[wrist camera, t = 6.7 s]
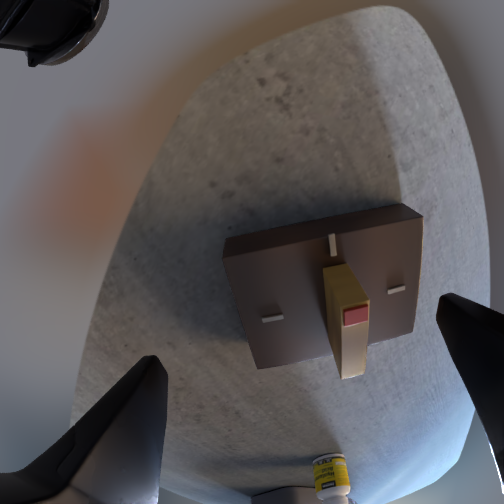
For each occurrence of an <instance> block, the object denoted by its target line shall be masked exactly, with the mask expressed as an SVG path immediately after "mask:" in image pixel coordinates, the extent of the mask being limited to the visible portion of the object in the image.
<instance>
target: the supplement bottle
mask: <svg viewBox="0 0 504 504" xmlns="http://www.w3.org/2000/svg"><path fill="white" fill-rule="evenodd" d="M313 472H314V480H315V488H316V495H317V497H318V498H319V499H321V500H323V502H322V504H348V498H347V497H346V494H348V493H349V492H350V483H349V478H348V473H347V468H346V463H345V458H344V455H342V454H337V453H334V454H327V455H324V456H321V457H319V458H317V459H315V460H314V461H313Z"/></svg>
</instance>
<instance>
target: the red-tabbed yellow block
mask: <svg viewBox="0 0 504 504" xmlns="http://www.w3.org/2000/svg"><path fill="white" fill-rule="evenodd" d="M323 277H324V288H325V299H326V312H327V326H328V339H329V343H330V346H331V349H332V352H333V355H334V358H335V362H336V365H337V368H338V371H339V375H340V378H341V379H346V378H350V377H353V376H357V375H361V374H364V373H365V365H366V354H367V341H368V326H369V302H370V300H369V298H368V296H367V295H366V293H365V291H364V290H363V288H362V286H361V285H360V283H359V281H358V280H357V278H356V277H355V275H354V273H353V272H352V270H351V269H350V267H349V265H348V264H347V263H346V264H341V265H336V266H331V267H327V268H323Z"/></svg>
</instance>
